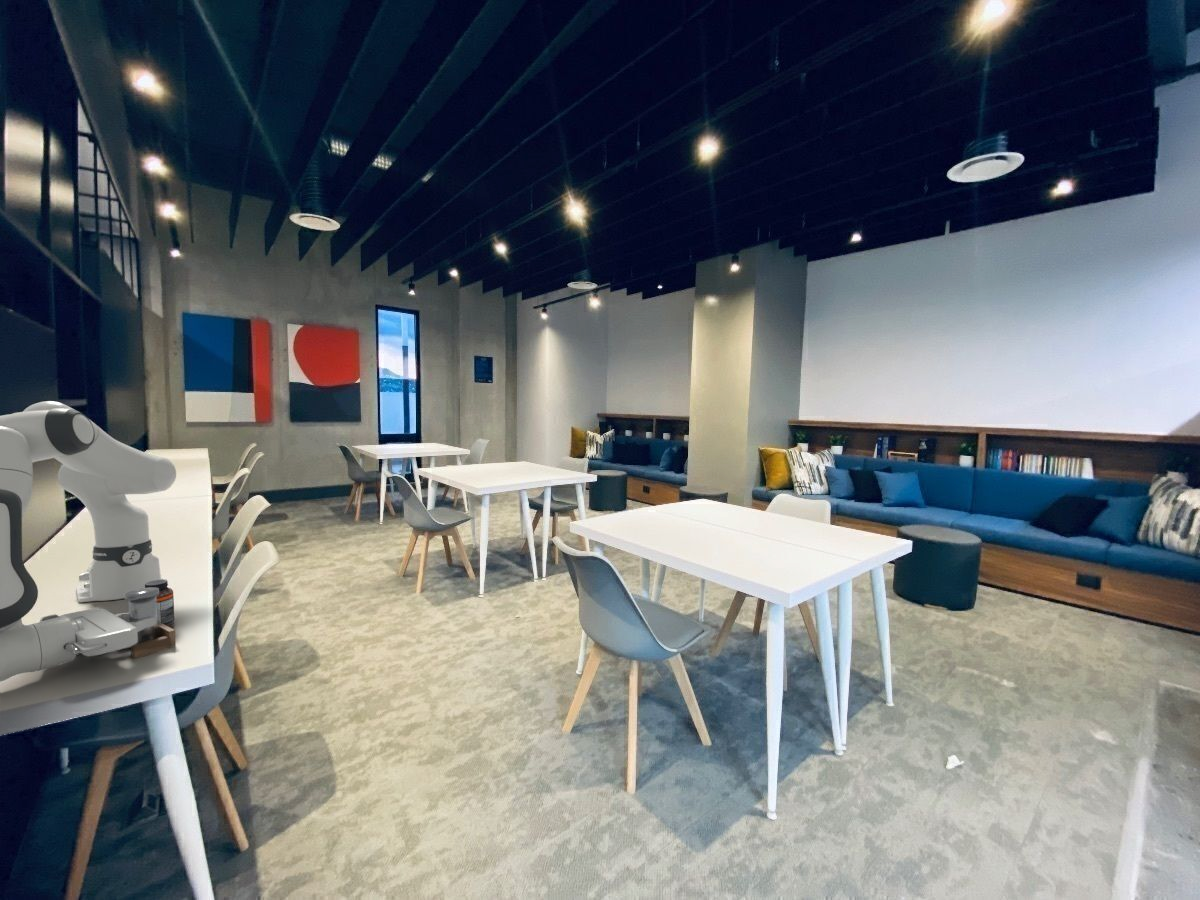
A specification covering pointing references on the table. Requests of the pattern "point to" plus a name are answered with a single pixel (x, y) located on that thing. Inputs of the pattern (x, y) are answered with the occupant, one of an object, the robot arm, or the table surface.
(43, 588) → the table surface
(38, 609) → the table surface
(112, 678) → the table surface
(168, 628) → the bracket
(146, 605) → the pin
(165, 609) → the supplement bottle
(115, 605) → the table surface
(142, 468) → the robot arm
